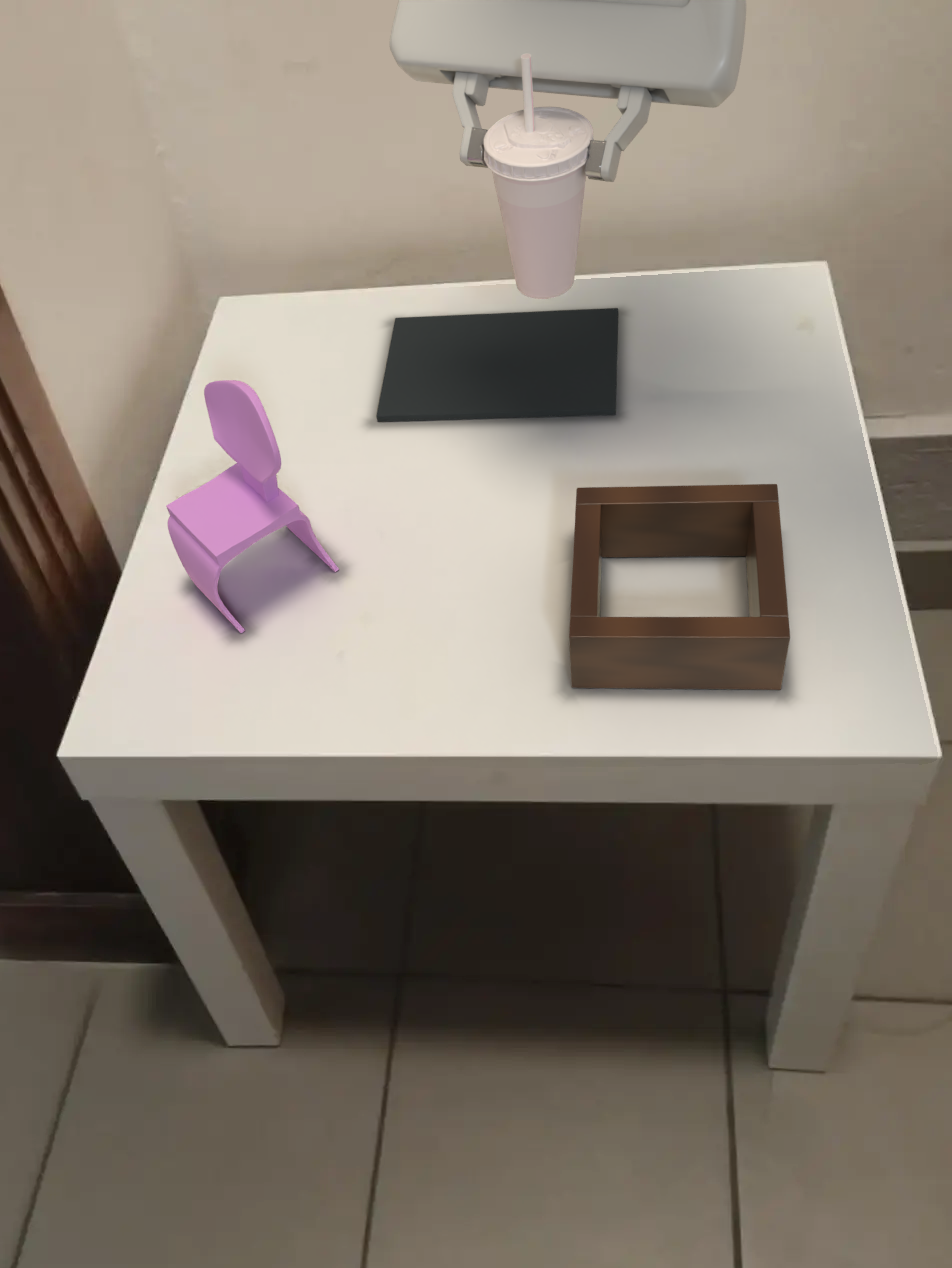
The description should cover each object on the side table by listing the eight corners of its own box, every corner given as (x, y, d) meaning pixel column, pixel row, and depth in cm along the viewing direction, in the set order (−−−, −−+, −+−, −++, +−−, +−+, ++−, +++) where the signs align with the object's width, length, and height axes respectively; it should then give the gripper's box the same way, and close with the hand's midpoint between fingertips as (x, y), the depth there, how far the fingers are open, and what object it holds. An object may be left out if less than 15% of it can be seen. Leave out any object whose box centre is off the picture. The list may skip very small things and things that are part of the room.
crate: (769, 538, 81) (777, 483, 77) (780, 690, 74) (790, 637, 70) (578, 540, 83) (576, 487, 79) (571, 688, 76) (569, 637, 72)
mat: (618, 313, 97) (618, 307, 96) (615, 415, 90) (615, 408, 90) (396, 323, 100) (394, 317, 100) (377, 422, 93) (375, 416, 93)
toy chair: (180, 579, 86) (110, 413, 74) (282, 516, 89) (230, 345, 76) (242, 646, 82) (178, 481, 70) (348, 577, 84) (303, 406, 72)
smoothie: (533, 240, 80) (521, 19, 69) (616, 268, 77) (617, 43, 66) (475, 293, 78) (452, 73, 67) (557, 324, 75) (548, 100, 64)
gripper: (397, -124, 69) (354, 138, 72) (763, -113, 62) (698, 175, 65) (436, -73, 74) (395, 167, 77) (775, -58, 68) (715, 204, 71)
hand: (536, 171), depth 71 cm, fingers closed on smoothie, 6 cm apart
